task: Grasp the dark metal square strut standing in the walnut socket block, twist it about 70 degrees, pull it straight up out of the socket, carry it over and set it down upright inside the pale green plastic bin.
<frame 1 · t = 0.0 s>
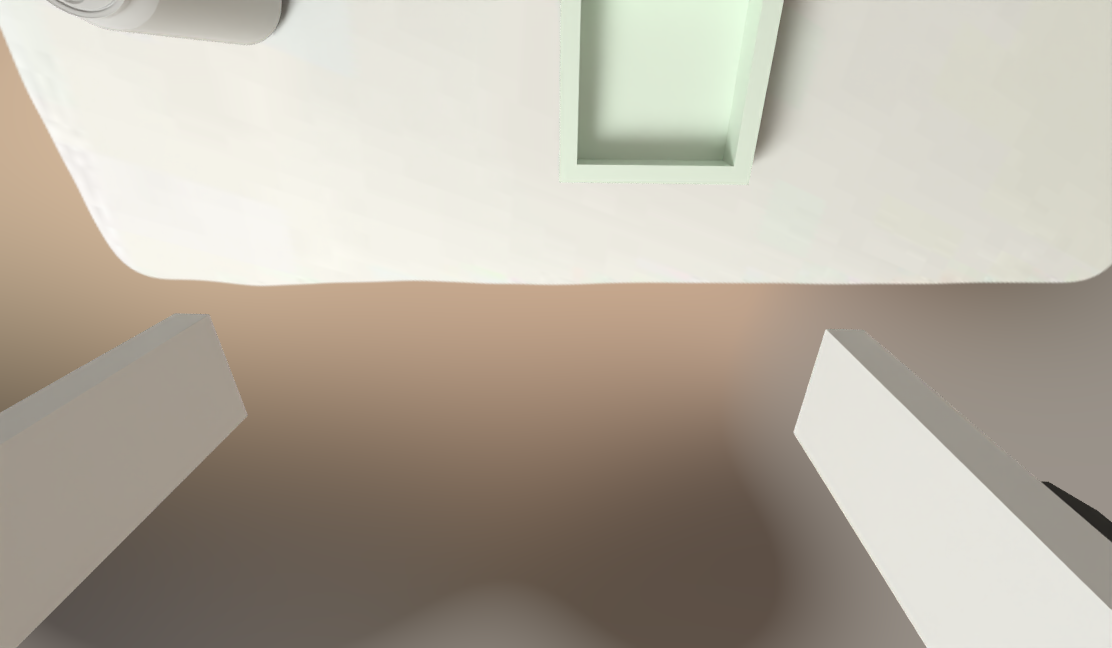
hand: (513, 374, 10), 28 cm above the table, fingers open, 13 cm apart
bin: (655, 77, 32), on the table
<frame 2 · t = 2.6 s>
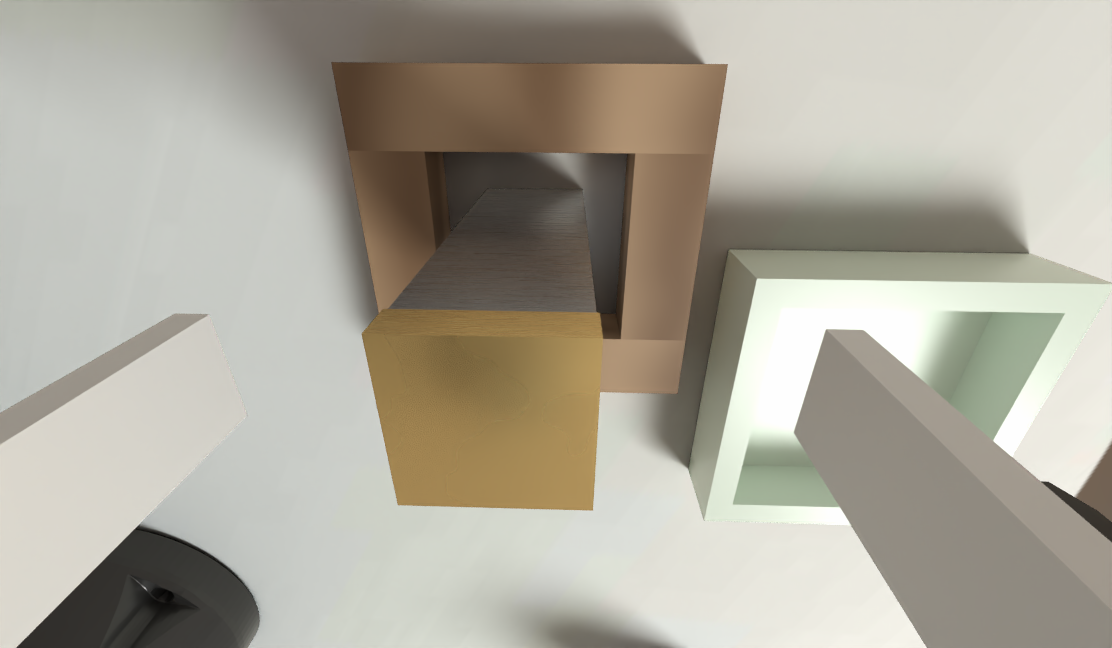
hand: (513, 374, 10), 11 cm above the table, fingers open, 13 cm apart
socket block: (535, 235, 20), on the table
strut: (535, 235, 20), resting in socket block
bin: (836, 376, 23), on the table
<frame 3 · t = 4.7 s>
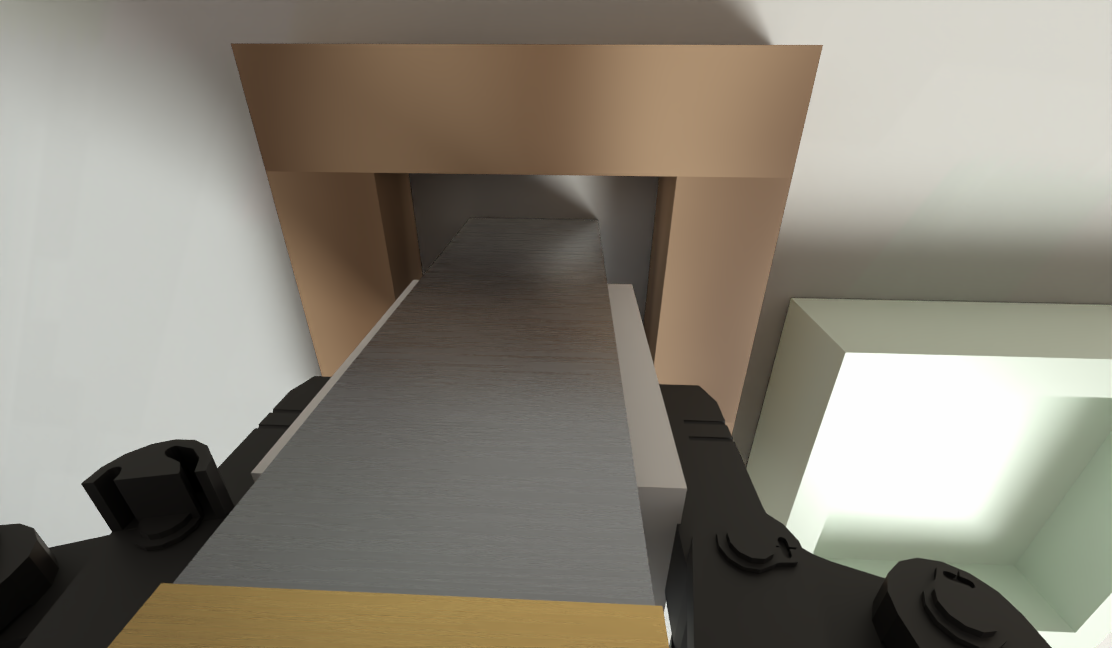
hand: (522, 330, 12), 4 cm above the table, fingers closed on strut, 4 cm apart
socket block: (534, 278, 15), on the table
strut: (534, 278, 15), resting in socket block, touching gripper
bin: (920, 453, 18), on the table
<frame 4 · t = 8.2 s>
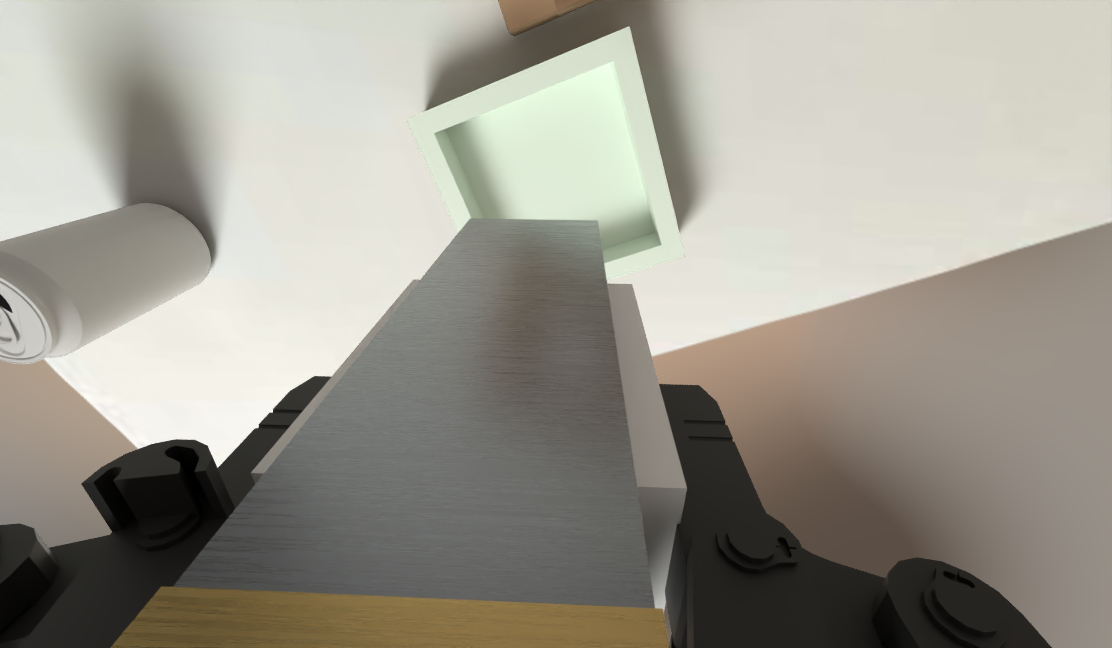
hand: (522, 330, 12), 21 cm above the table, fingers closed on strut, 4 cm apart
strut: (534, 279, 15), point 17 cm above the table, touching gripper
bin: (555, 180, 31), on the table
beverage can: (175, 243, 34), on the table
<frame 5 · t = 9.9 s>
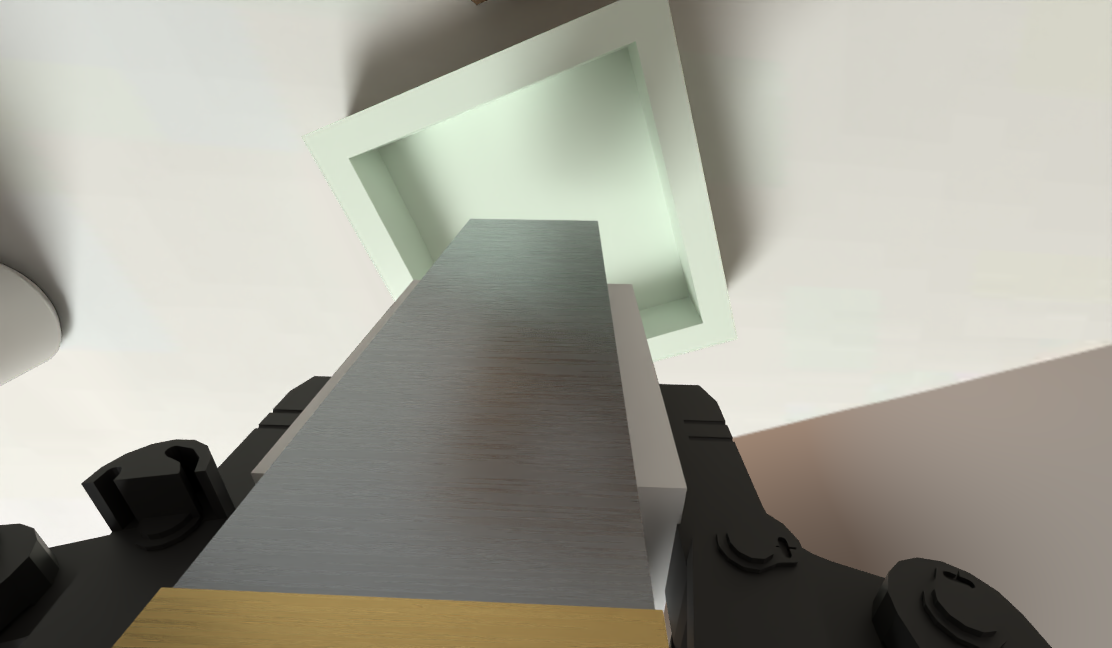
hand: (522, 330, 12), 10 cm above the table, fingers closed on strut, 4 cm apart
strut: (534, 279, 15), point 6 cm above the table, touching gripper
bin: (543, 222, 21), on the table
beverage can: (13, 304, 24), on the table
when the fingers open (6 cm above the table, at t = 11.5 s): strut drops 1 cm, resting on bin.
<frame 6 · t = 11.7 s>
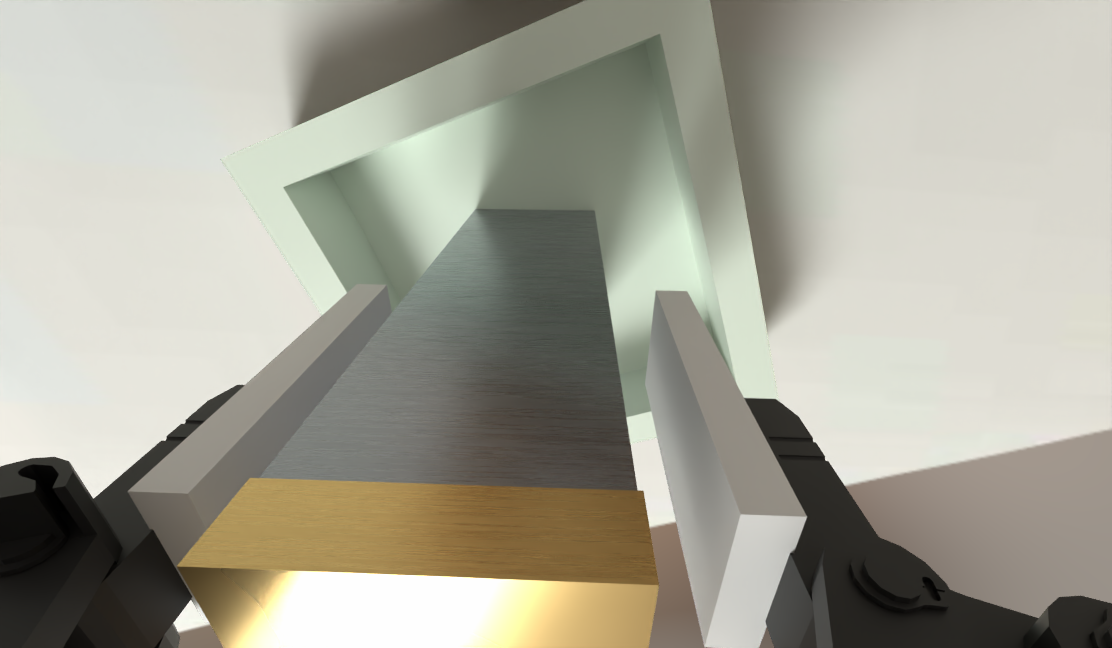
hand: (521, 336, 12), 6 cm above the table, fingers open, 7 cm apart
strut: (535, 266, 16), point 1 cm above the table, touching bin
bin: (538, 258, 17), on the table
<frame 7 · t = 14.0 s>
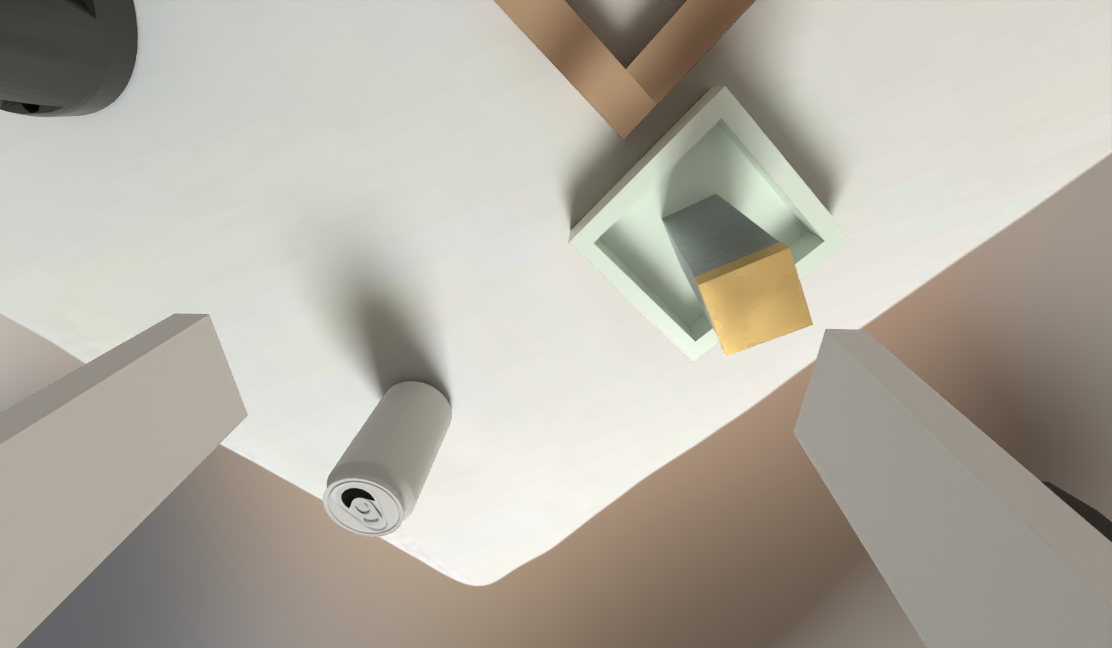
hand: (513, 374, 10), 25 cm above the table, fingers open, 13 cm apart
strut: (697, 231, 33), point 1 cm above the table, touching bin
bin: (696, 228, 34), on the table
beverage can: (420, 404, 43), on the table
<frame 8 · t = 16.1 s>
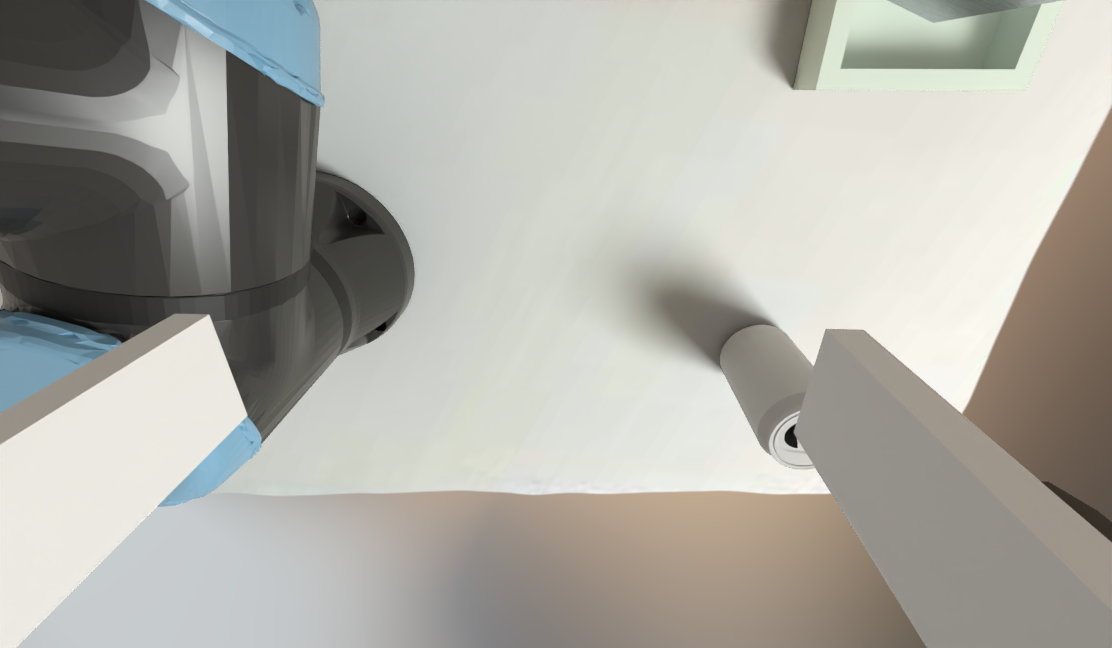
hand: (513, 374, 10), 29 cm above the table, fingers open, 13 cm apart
beverage can: (752, 350, 43), on the table
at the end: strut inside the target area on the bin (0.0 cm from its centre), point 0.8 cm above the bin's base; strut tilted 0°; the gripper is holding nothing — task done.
